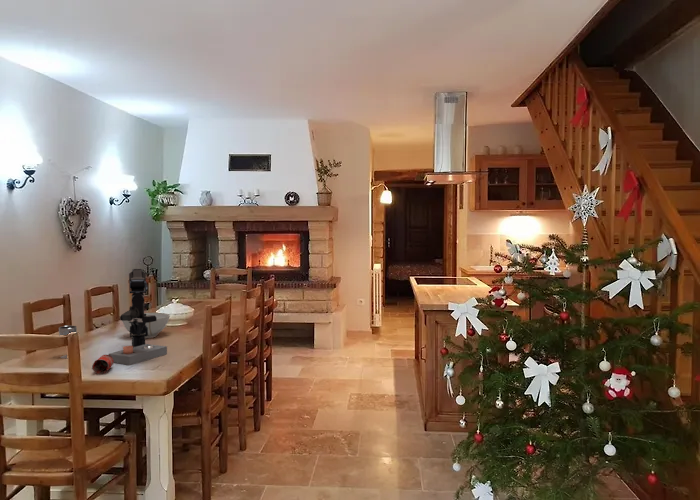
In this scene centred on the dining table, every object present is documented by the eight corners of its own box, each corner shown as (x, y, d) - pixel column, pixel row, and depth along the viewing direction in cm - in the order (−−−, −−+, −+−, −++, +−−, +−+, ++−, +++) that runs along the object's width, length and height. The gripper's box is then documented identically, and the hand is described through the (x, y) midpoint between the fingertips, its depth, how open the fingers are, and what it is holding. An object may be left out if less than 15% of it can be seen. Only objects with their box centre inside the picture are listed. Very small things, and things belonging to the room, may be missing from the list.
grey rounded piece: (142, 354, 271) (141, 346, 271) (148, 352, 275) (148, 345, 275) (148, 355, 269) (148, 347, 269) (155, 353, 273) (155, 345, 273)
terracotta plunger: (121, 355, 259) (121, 347, 259) (128, 353, 263) (128, 345, 263) (127, 356, 257) (127, 348, 257) (135, 354, 261) (134, 346, 261)
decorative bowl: (138, 343, 300) (137, 321, 299) (112, 337, 316) (112, 316, 316) (179, 335, 321) (178, 315, 321) (153, 330, 338) (153, 311, 337)
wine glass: (80, 356, 270) (80, 326, 269) (65, 359, 263) (64, 329, 262) (71, 354, 274) (70, 325, 273) (56, 357, 267) (55, 327, 266)
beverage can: (115, 367, 249) (115, 353, 249) (108, 374, 237) (108, 359, 237) (98, 367, 248) (98, 353, 247) (91, 375, 236) (91, 360, 236)
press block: (108, 361, 258) (108, 353, 258) (146, 351, 280) (146, 343, 280) (129, 365, 252) (129, 356, 252) (167, 354, 274) (166, 346, 274)
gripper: (110, 305, 261) (111, 336, 261) (139, 306, 254) (140, 339, 254) (128, 302, 271) (129, 333, 272) (157, 304, 264) (157, 335, 264)
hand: (138, 335), depth 265 cm, fingers closed
